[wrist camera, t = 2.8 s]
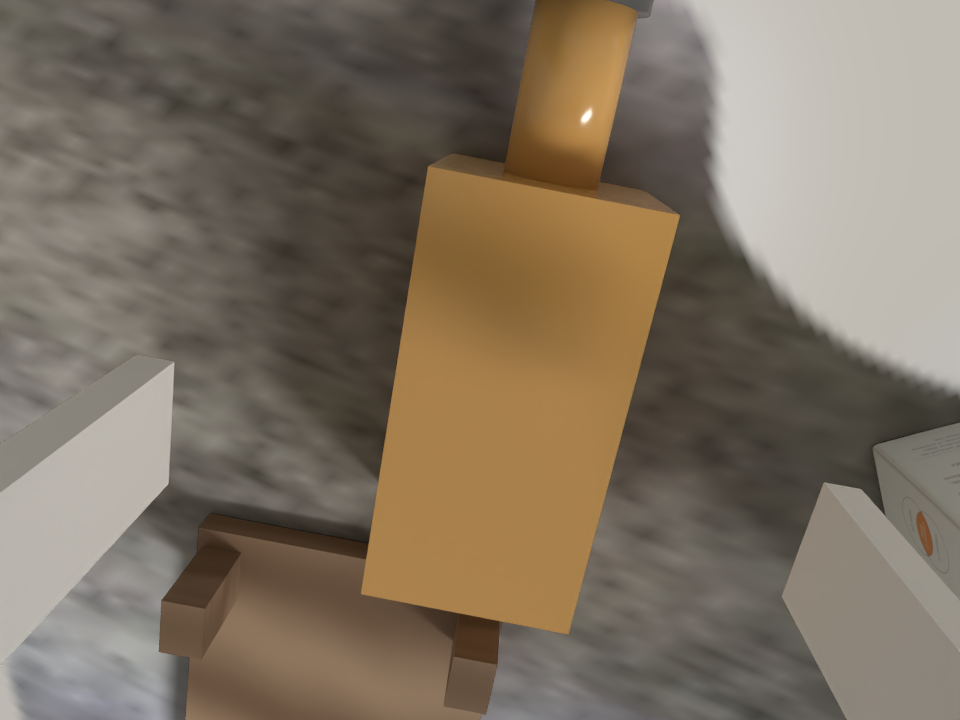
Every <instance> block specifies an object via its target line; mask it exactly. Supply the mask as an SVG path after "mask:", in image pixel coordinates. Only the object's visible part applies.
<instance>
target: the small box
mask: <svg viewBox="0 0 960 720" xmlns="http://www.w3.org/2000/svg"><path fill="white" fill-rule="evenodd" d="M873 454H874V459H875V464H876V469H877V475H878V480H879V485H880V490H881V495H882V500H883V506H884V511H885V516H886V518H887V519H888V520H889V521H890V522H891V523H892V524H893V526H894V527H895V528H896V529H897V530H898V531H899V532H900V533H901V535H902V536H903V537H904V538H905V539H906V540H907V541H908V543H909V544H910V545H911V546H912V547H913V548H914V549H915V550H916V552H917V553H918V554H919V555H920V556H921V557H922V558H923V560H924V561H925V562H926V563H927V564H928V565H929V566H930V567H931V569H932V570H933V571H934V572H935V573H936V574H937V575H938V577H939V578H940V579H941V580H942V581H943V582H944V583H945V585H946V586H947V587H948V588H949V589H950V590H951V591H952V592H953V594H954V595H955V596H956V597H957V598H958V599H959V600H960V423H956V424H952V425H948V426H944V427H939V428H936V429H932V430H929V431H925V432H921V433H917V434H913V435H909V436H906V437H903V438H899V439H895V440H891V441H887V442H884V443H880V444H877V445H875V446H874V447H873Z"/></svg>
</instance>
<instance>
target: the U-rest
mask: <svg viewBox="0 0 960 720" xmlns="http://www.w3.org/2000/svg"><path fill="white" fill-rule="evenodd" d="M368 545H369V544H368V543H362V542H357V541H352V540H347V539H341V538H336V537H331V536H326V535H321V534H315V533H310V532H305V531H300V530H294V529H289V528H284V527H279V526H274V525H268V524H263V523H258V522H253V521H247V520H242V519H237V518H232V517H227V516H221V515H216V514H211V513H210V514H209V515H208V516H207V518H206V519H205V520H204V521H203V523H202V524H201V525H200V526H199V528H198V543H197V554H196V555H195V557H194V558H193V559H192V561H191V562H190V563H189V565H188V566H187V567H186V569H185V570H184V571H183V573H182V574H181V575H180V577H179V578H178V579H177V581H176V582H175V583H174V585H173V586H172V587H171V589H170V590H169V591H168V593H167V594H166V595H165V597H164V598H163V599H162V602H161V621H160V640H159V652H162V653H167V654H173V655H178V656H183V657H188V658H190V660H189V674H188V689H187V704H186V718H185V720H480V718H481V714H486V712H487V708H488V703H489V699H490V695H491V690H492V686H493V682H494V677H495V673H496V668H497V662H498V644H499V634H500V630H501V625H502V621H497V620H491V619H486V618H481V617H476V616H471V615H466V614H461V613H455V612H450V611H445V610H440V609H435V608H430V607H425V606H419V605H414V604H409V603H404V602H399V601H394V600H389V599H383V598H378V597H373V596H368V595H363V594H361V590H362V583H363V577H364V571H365V564H366V558H367V552H368Z"/></svg>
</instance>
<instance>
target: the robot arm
mask: <svg viewBox="0 0 960 720" xmlns="http://www.w3.org/2000/svg"><path fill="white" fill-rule="evenodd" d="M173 382H174V362H173V361H168V360H162V359H157V358H152V357H146V356H141V355H135V356H133V357H132V358H130V359H129V360H127V361H126V362H124V363H123V364H121V365H120V366H118V367H117V368H115V369H114V370H112V371H111V372H109V373H108V374H106V375H105V376H103V377H101V378H100V379H98V380H97V381H95V382H94V383H92V384H91V385H89V386H88V387H86V388H85V389H83V390H82V391H80V392H79V393H77V394H76V395H74V396H73V397H71V398H70V399H68V400H67V401H65V402H63V403H62V404H60V405H59V406H57V407H56V408H54V409H53V410H51V411H50V412H48V413H47V414H45V415H44V416H42V417H41V418H39V419H38V420H36V421H35V422H33V423H32V424H30V425H29V426H27V427H25V428H24V429H22V430H21V431H19V432H18V433H16V434H15V435H13V436H12V437H10V438H9V439H7V440H6V441H4V442H3V443H1V444H0V666H1V665H2V664H3V663H4V662H5V661H6V660H7V659H8V658H9V657H10V655H11V654H12V653H13V652H14V651H15V650H16V649H17V648H18V647H19V646H20V645H21V643H22V642H23V641H24V640H25V639H26V638H27V637H28V636H29V635H30V634H31V633H32V632H33V630H34V629H35V628H36V627H37V626H38V625H39V624H40V623H41V622H42V621H43V620H44V619H45V617H46V616H47V615H48V614H49V613H50V612H51V611H52V610H53V609H54V608H55V607H56V605H57V604H58V603H59V602H60V601H61V600H62V599H63V598H64V597H65V596H66V595H67V594H68V592H69V591H70V590H71V589H72V588H73V587H74V586H75V585H76V584H77V583H78V582H79V581H80V579H81V578H82V577H83V576H84V575H85V574H86V573H87V572H88V571H89V570H90V569H91V567H92V566H93V565H94V564H95V563H96V562H97V561H98V560H99V559H100V558H101V557H102V556H103V554H104V553H105V552H106V551H107V550H108V549H109V548H110V547H111V546H112V545H113V544H114V543H115V541H116V540H117V539H118V538H119V537H120V536H121V535H122V534H123V533H124V532H125V531H126V529H127V528H128V527H129V526H130V525H131V524H132V523H133V522H134V521H135V520H136V519H137V518H138V516H139V515H140V514H141V513H142V512H143V511H144V510H145V509H146V508H147V507H148V506H149V505H150V503H151V502H152V501H153V500H154V499H155V498H156V497H157V496H158V495H159V494H160V493H161V491H162V490H163V489H164V488H165V487H166V486H167V485H168V484H169V464H170V444H171V423H172V403H173ZM782 598H783V600H784V602H785V604H786V606H787V608H788V610H789V611H790V613H791V615H792V617H793V619H794V621H795V623H796V625H797V627H798V629H799V630H800V632H801V634H802V636H803V638H804V640H805V642H806V644H807V646H808V647H809V649H810V651H811V653H812V655H813V657H814V659H815V661H816V663H817V664H818V666H819V668H820V670H821V672H822V674H823V676H824V678H825V680H826V681H827V683H828V685H829V687H830V689H831V691H832V693H833V695H834V697H835V698H836V700H837V702H838V704H839V706H840V708H841V710H842V712H843V714H844V715H845V717H846V719H847V720H960V600H959V599H958V598H957V597H956V596H955V595H954V594H953V592H952V591H951V590H950V589H949V588H948V587H947V586H946V585H945V583H944V582H943V581H942V580H941V579H940V578H939V577H938V575H937V574H936V573H935V572H934V571H933V570H932V569H931V567H930V566H929V565H928V564H927V563H926V562H925V561H924V560H923V558H922V557H921V556H920V555H919V554H918V553H917V552H916V550H915V549H914V548H913V547H912V546H911V545H910V544H909V543H908V541H907V540H906V539H905V538H904V537H903V536H902V535H901V533H900V532H899V531H898V530H897V529H896V528H895V527H894V526H893V524H892V523H891V522H890V521H889V520H888V519H887V518H886V516H885V515H884V514H883V513H882V512H881V511H880V510H879V509H878V507H877V506H876V505H875V504H874V503H873V502H872V501H871V499H870V498H869V497H868V496H867V495H866V494H865V493H864V492H863V490H862V489H858V488H852V487H847V486H842V485H836V484H831V483H825V482H824V483H823V486H822V489H821V491H820V494H819V497H818V499H817V502H816V505H815V508H814V510H813V513H812V516H811V518H810V521H809V524H808V526H807V529H806V532H805V535H804V537H803V540H802V543H801V545H800V548H799V551H798V553H797V556H796V559H795V562H794V564H793V567H792V570H791V572H790V575H789V578H788V581H787V583H786V586H785V589H784V591H783V594H782Z"/></svg>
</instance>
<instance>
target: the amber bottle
mask: <svg viewBox="0 0 960 720" xmlns="http://www.w3.org/2000/svg"><path fill="white" fill-rule="evenodd" d="M653 1H654V0H536V1H535V6H534V12H533V17H532V22H531V28H530V33H529V38H528V44H527V49H526V54H525V59H524V65H523V70H522V75H521V81H520V86H519V91H518V97H517V102H516V107H515V112H514V118H513V123H512V128H511V134H510V139H509V144H508V150H507V155H506V160H505V163H501V162H496V161H490V160H485V159H480V158H475V157H470V156H465V155H460V154H454V153H451V154H449V155H448V156H446V157H444V158H442V159H440V160H438V161H437V162H435V163H433V164H431V165H429V166H428V170H427V176H426V182H425V189H424V195H423V202H422V208H421V214H420V221H419V227H418V233H417V240H416V246H415V252H414V259H413V265H412V272H411V278H410V284H409V291H408V297H407V303H406V310H405V316H404V322H403V329H402V335H401V342H400V348H399V354H398V361H397V367H396V373H395V380H394V386H393V392H392V399H391V405H390V412H389V418H388V424H387V431H386V437H385V443H384V450H383V456H382V463H381V469H380V475H379V482H378V488H377V494H376V501H375V507H374V513H373V520H372V526H371V533H370V539H369V545H368V552H367V558H366V564H365V571H364V577H363V583H362V590H361V594H363V595H368V596H373V597H378V598H383V599H389V600H394V601H399V602H404V603H409V604H414V605H419V606H425V607H430V608H435V609H440V610H445V611H450V612H455V613H461V614H466V615H471V616H476V617H481V618H486V619H491V620H497V621H502V622H507V623H512V624H517V625H522V626H527V627H533V628H538V629H543V630H548V631H553V632H558V633H563V634H569V630H570V626H571V623H572V619H573V615H574V611H575V608H576V604H577V600H578V596H579V593H580V589H581V585H582V581H583V578H584V574H585V570H586V566H587V563H588V559H589V555H590V551H591V548H592V544H593V540H594V536H595V533H596V529H597V525H598V521H599V518H600V514H601V510H602V507H603V503H604V499H605V495H606V492H607V488H608V484H609V480H610V477H611V473H612V469H613V465H614V462H615V458H616V454H617V450H618V447H619V443H620V439H621V435H622V432H623V428H624V424H625V420H626V417H627V413H628V409H629V405H630V402H631V398H632V394H633V390H634V387H635V383H636V379H637V375H638V372H639V368H640V364H641V360H642V357H643V353H644V349H645V345H646V342H647V338H648V334H649V330H650V327H651V323H652V319H653V315H654V312H655V308H656V304H657V301H658V297H659V293H660V289H661V286H662V282H663V278H664V274H665V271H666V267H667V263H668V259H669V256H670V252H671V248H672V244H673V241H674V237H675V233H676V229H677V226H678V222H679V218H680V215H679V214H678V213H676V212H675V211H673V210H672V209H670V208H669V207H668V206H666V205H665V204H663V203H662V202H660V201H659V200H657V199H656V198H654V197H653V196H652V195H650V194H649V193H647V192H646V191H644V190H640V189H635V188H629V187H624V186H619V185H614V184H609V183H604V182H600V178H601V173H602V169H603V165H604V160H605V156H606V152H607V147H608V143H609V139H610V134H611V130H612V125H613V121H614V117H615V112H616V108H617V104H618V99H619V95H620V91H621V86H622V82H623V78H624V73H625V69H626V65H627V60H628V56H629V51H630V47H631V43H632V38H633V34H634V30H635V25H636V21H637V18H647V17H649V16H650V14H651V10H652V5H653Z"/></svg>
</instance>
